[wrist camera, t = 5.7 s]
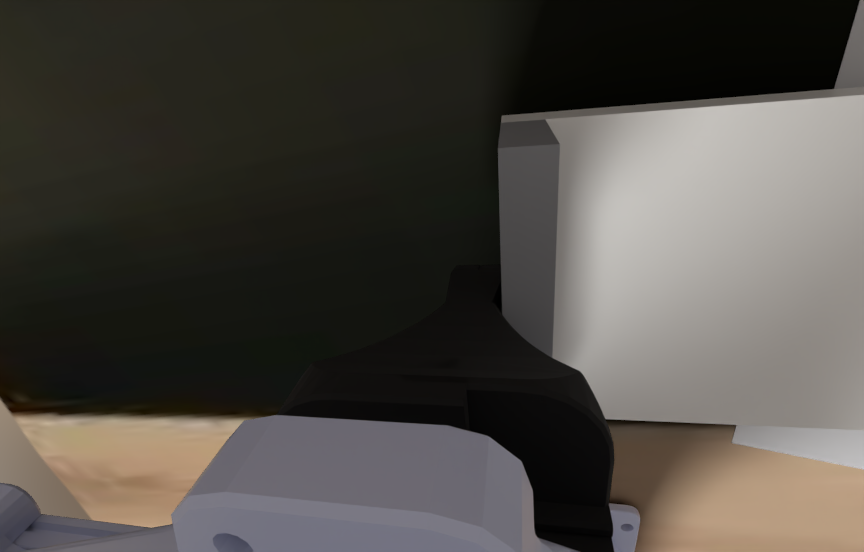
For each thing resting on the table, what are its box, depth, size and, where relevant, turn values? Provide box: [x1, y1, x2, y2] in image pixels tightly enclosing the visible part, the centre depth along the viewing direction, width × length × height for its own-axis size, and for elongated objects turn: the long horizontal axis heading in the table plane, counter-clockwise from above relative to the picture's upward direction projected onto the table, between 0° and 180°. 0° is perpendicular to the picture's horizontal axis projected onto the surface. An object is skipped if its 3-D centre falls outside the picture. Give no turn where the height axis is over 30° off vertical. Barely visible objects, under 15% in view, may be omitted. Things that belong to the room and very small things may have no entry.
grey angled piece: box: [498, 87, 864, 430], centre depth 11 cm, size 9×10×6 cm
